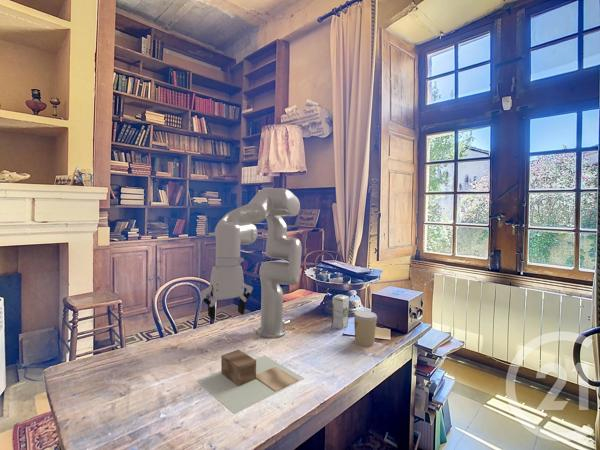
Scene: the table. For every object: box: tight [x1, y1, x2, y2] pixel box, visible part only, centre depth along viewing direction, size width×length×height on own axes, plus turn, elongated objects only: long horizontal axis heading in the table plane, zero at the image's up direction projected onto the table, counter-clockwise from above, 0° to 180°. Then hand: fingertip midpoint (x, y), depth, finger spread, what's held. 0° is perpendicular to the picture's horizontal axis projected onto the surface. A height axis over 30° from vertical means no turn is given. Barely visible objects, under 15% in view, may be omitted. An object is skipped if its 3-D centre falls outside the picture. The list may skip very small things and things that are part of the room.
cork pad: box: [256, 367, 298, 391], centre depth 99 cm, size 9×11×1 cm
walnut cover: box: [220, 349, 256, 387], centre depth 100 cm, size 10×6×6 cm, turn 44°
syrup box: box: [330, 294, 350, 330], centre depth 148 cm, size 6×6×14 cm
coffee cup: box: [353, 310, 378, 347], centre depth 131 cm, size 9×9×12 cm
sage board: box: [196, 355, 306, 415], centre depth 99 cm, size 26×21×1 cm
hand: (226, 315), depth 100 cm, fingers open, 9 cm apart
